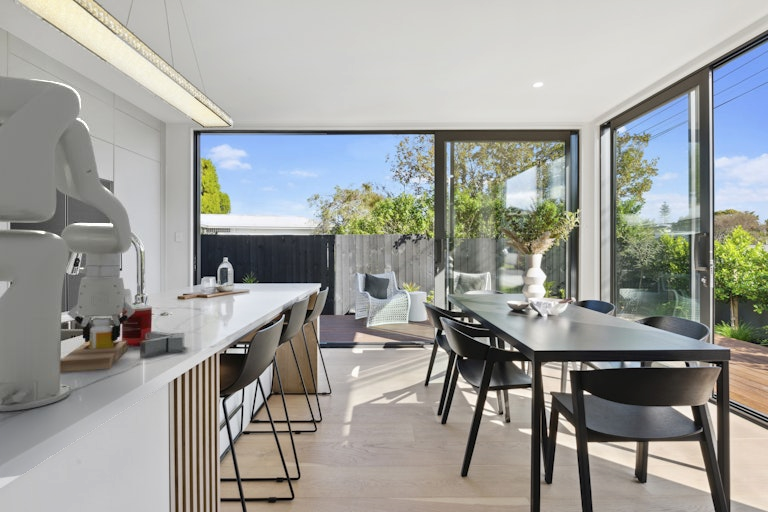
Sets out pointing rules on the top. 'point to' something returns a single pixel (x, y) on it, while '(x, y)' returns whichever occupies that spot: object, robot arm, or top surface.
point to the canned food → (137, 325)
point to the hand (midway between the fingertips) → (101, 339)
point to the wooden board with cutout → (92, 357)
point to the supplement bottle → (101, 334)
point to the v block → (161, 343)
